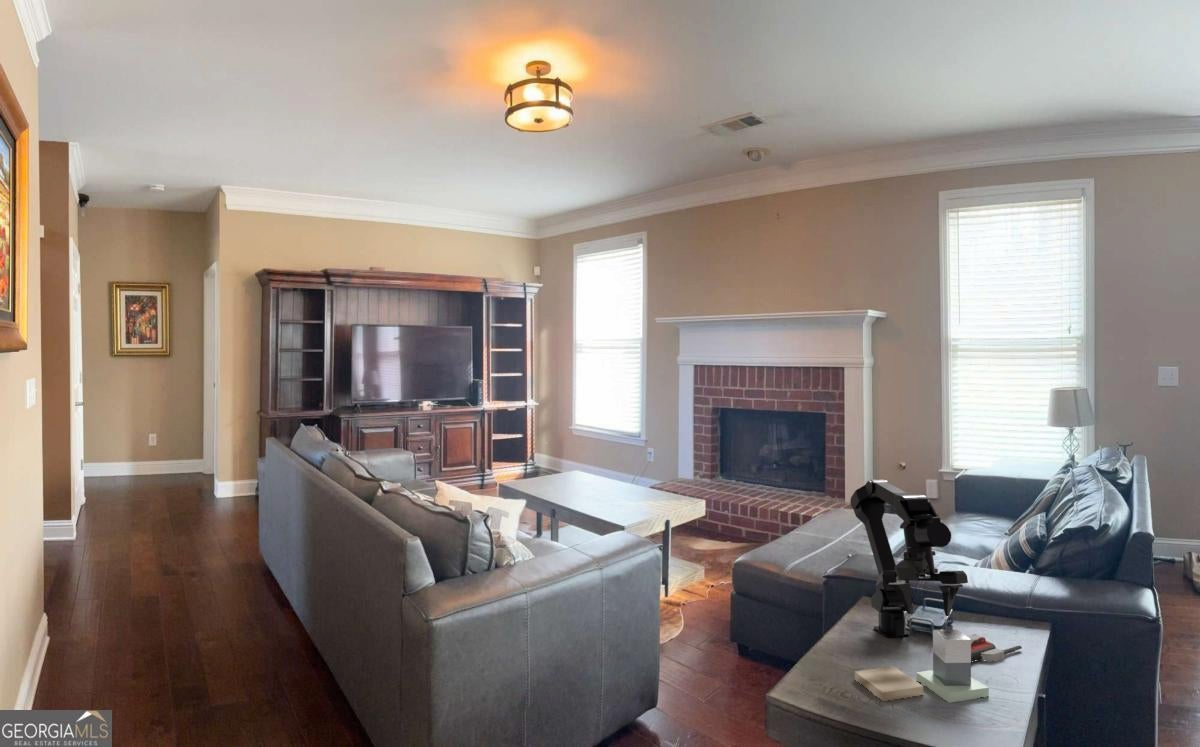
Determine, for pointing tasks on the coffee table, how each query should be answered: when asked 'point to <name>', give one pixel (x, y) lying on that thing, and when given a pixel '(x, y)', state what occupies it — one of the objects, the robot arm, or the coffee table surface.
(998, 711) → the coffee table surface
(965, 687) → the stand
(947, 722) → the coffee table surface
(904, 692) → the stand
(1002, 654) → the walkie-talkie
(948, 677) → the block
